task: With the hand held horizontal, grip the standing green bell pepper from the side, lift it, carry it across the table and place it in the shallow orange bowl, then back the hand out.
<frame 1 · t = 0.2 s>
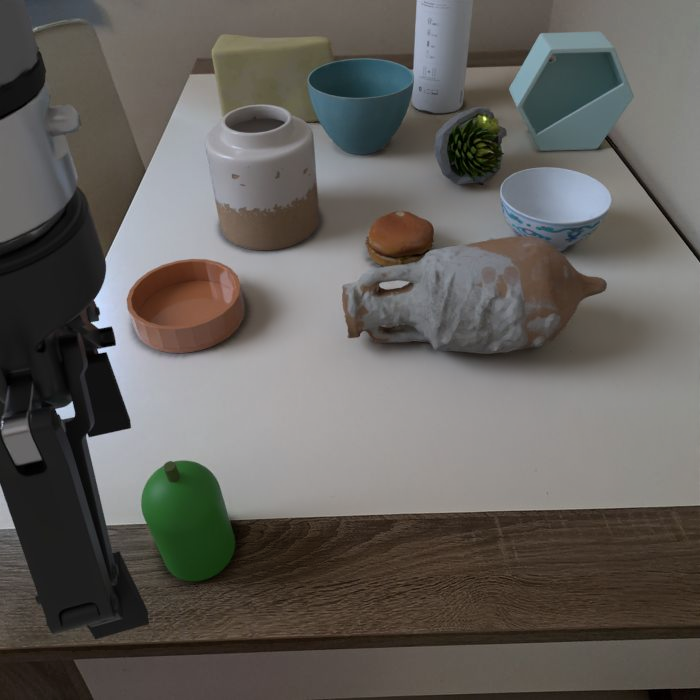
hand: (115, 515, 39), 21 cm above the table, tool pointing down, fingers open, 13 cm apart
chinaware: (545, 241, 95), on the table
vase: (270, 224, 100), on the table
plant pot: (361, 145, 119), on the table
potted plant: (472, 180, 108), on the table
planter: (559, 141, 118), on the table
green pepper: (199, 548, 60), on the table
orange bowl: (190, 315, 85), on the table
white tall cylinder: (437, 105, 131), on the table
cheese: (282, 120, 128), on the table
burger: (399, 252, 94), on the table
amphora: (466, 337, 80), on the table
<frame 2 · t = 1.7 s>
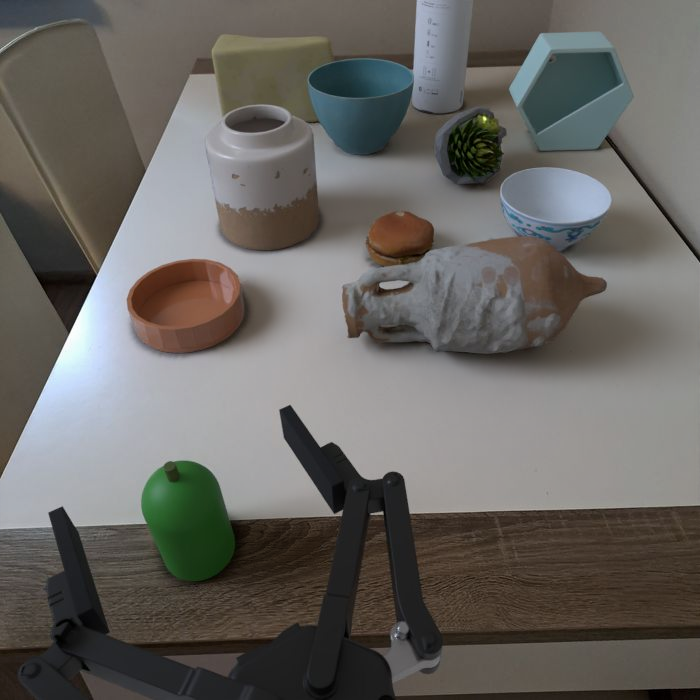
hand: (182, 468, 38), 24 cm above the table, tool horizontal, fingers open, 13 cm apart
nothing on the table moved.
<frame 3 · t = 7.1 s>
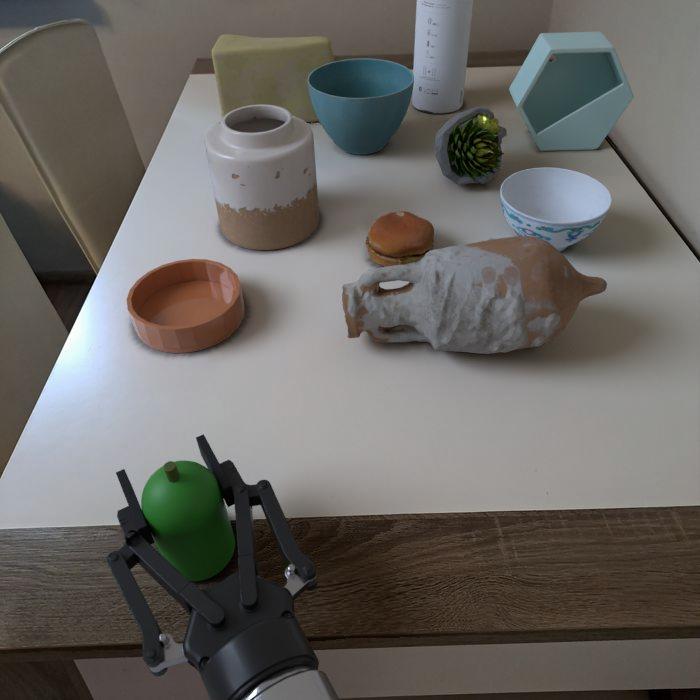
hand: (164, 462, 58), 8 cm above the table, tool horizontal, fingers closed on green pepper, 7 cm apart
green pepper: (199, 548, 60), on the table, touching gripper
everything else where it was.
when the fingers open (8 cm above the table, at t = 17.5 s): green pepper stays where it is, resting on orange bowl.
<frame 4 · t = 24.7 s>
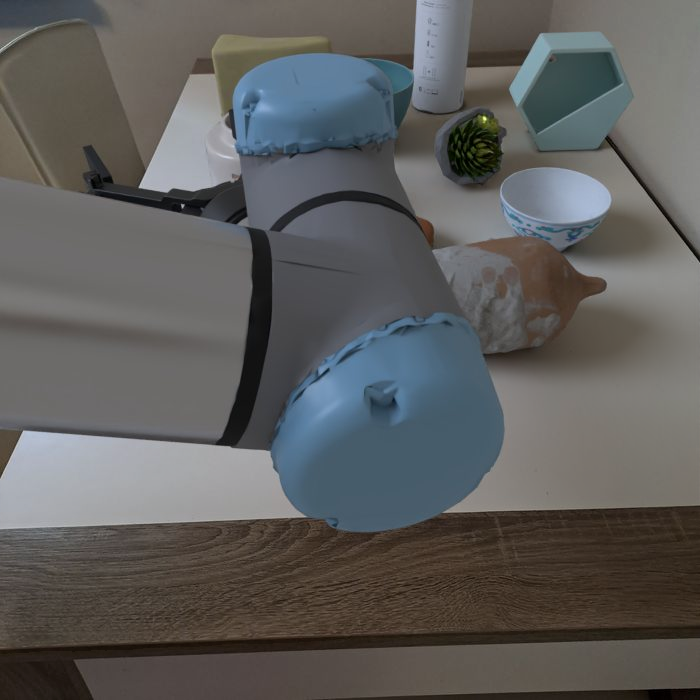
hand: (165, 140, 59), 28 cm above the table, tool horizontal, fingers open, 13 cm apart
green pepper: (189, 311, 84), point 1 cm above the table, touching orange bowl
everything else where it was.
at the end: green pepper inside the target area in the orange bowl (0.1 cm from its centre), point 0.8 cm above the orange bowl's base; the gripper is holding nothing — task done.
